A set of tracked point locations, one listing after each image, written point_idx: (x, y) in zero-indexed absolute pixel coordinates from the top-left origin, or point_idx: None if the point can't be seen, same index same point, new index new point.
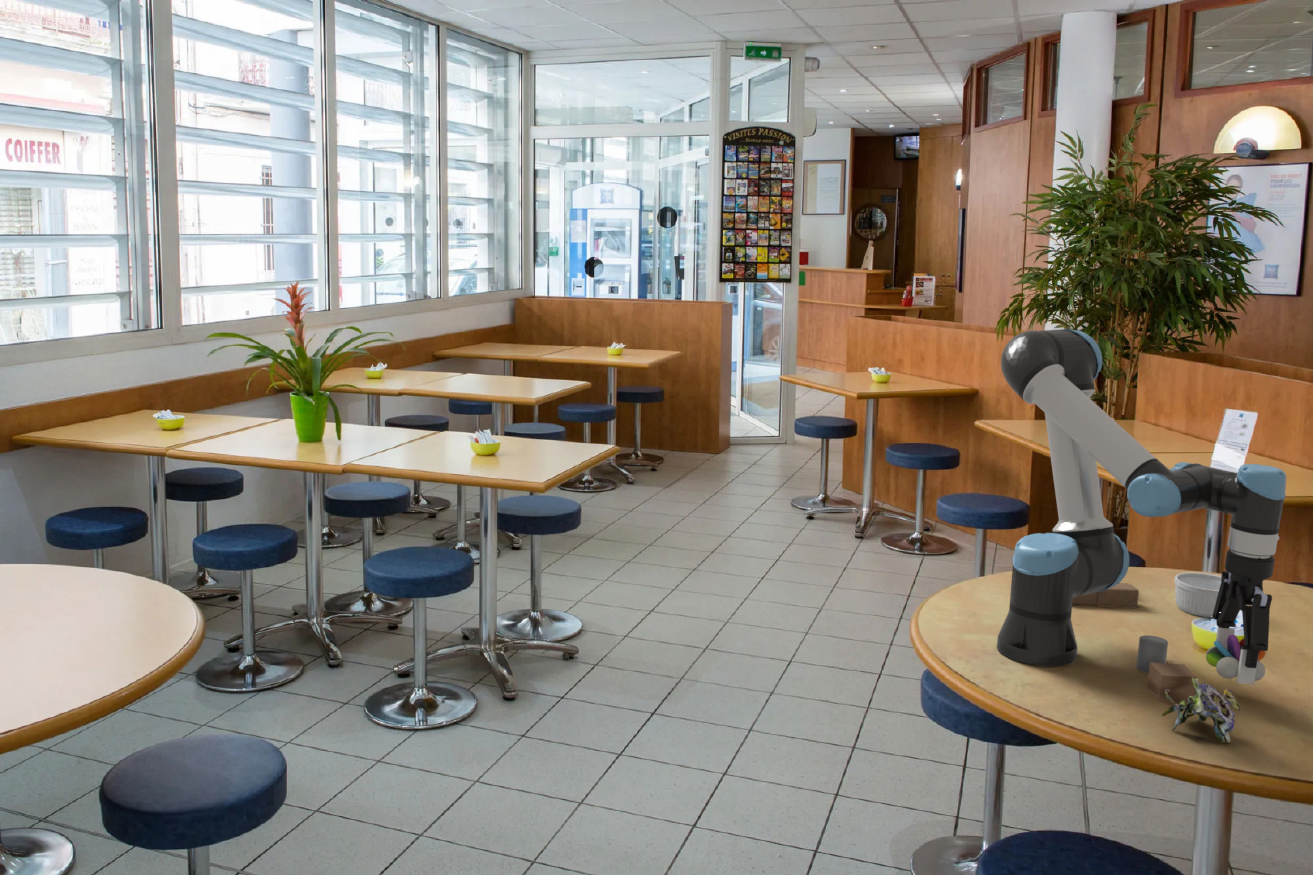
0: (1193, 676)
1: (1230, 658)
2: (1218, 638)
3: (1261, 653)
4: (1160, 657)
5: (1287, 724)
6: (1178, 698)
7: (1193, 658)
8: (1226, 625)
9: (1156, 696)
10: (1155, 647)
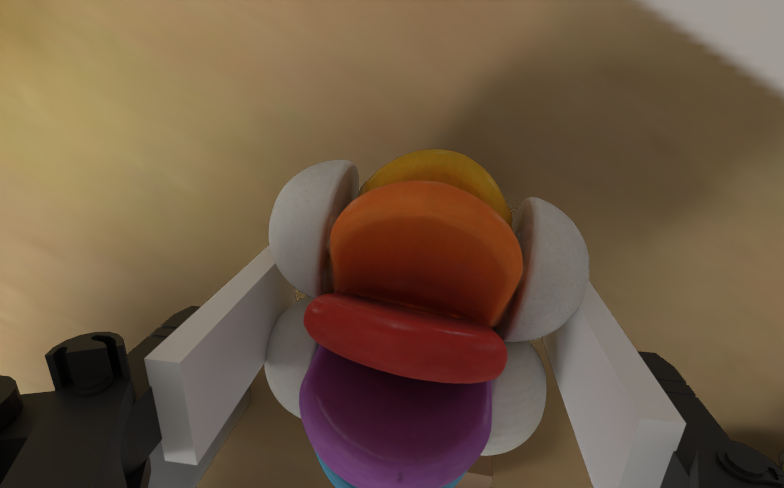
0: (487, 485)
1: (506, 435)
2: (235, 403)
3: (496, 247)
4: None
5: (728, 144)
6: None
7: (42, 181)
8: (141, 427)
9: None
10: (195, 482)
